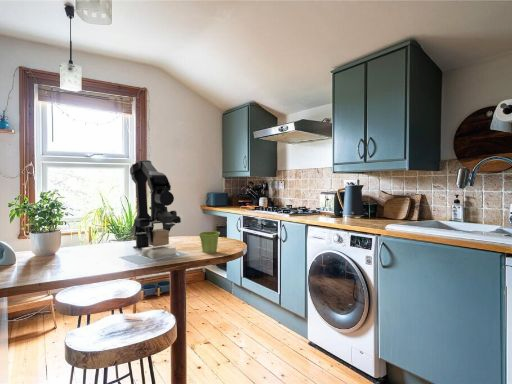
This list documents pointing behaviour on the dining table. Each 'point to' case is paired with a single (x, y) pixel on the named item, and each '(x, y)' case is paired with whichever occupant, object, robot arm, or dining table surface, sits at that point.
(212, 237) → the plant pot
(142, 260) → the board
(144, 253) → the plinth
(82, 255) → the dining table surface
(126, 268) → the dining table surface
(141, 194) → the robot arm
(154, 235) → the walnut cube
